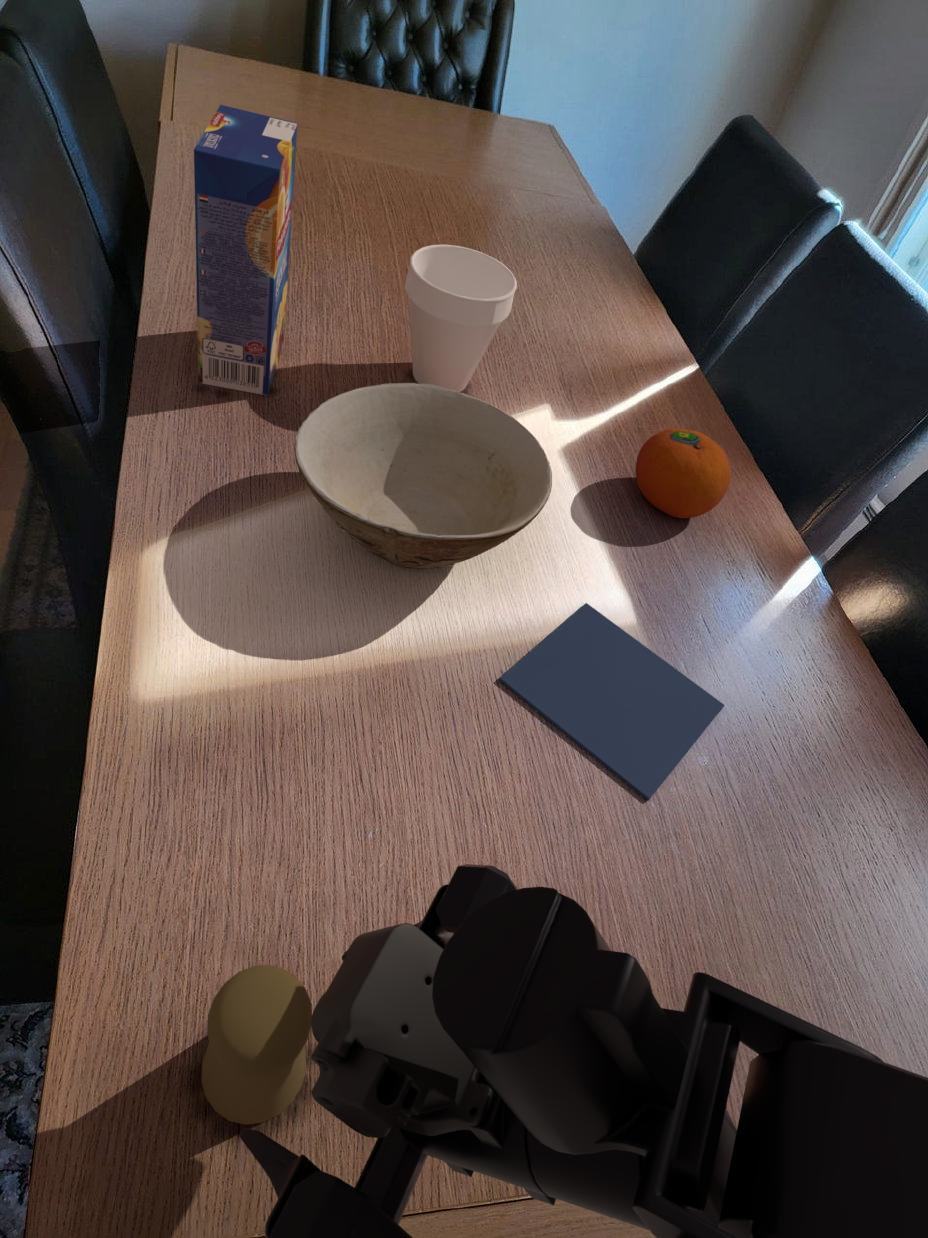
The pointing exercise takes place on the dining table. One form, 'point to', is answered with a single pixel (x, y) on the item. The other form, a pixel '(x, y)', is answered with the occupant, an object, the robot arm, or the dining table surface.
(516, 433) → the bowl
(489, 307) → the cup
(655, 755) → the book
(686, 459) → the fruit
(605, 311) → the dining table surface
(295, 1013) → the cork
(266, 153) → the blue cardboard box
